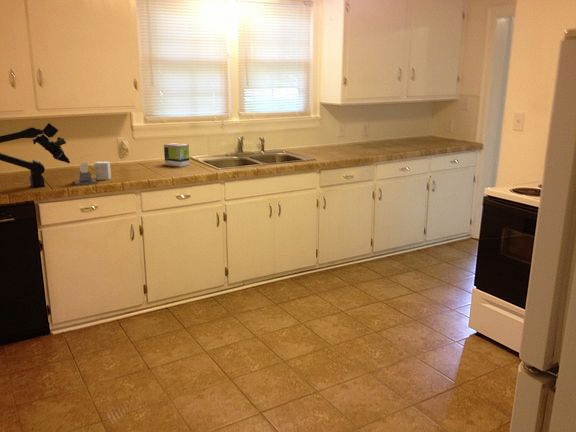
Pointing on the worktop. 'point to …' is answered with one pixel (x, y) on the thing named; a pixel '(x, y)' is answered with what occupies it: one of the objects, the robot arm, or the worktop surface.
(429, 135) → the worktop surface
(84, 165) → the white tall block
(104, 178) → the small box
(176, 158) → the tea box
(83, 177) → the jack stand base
